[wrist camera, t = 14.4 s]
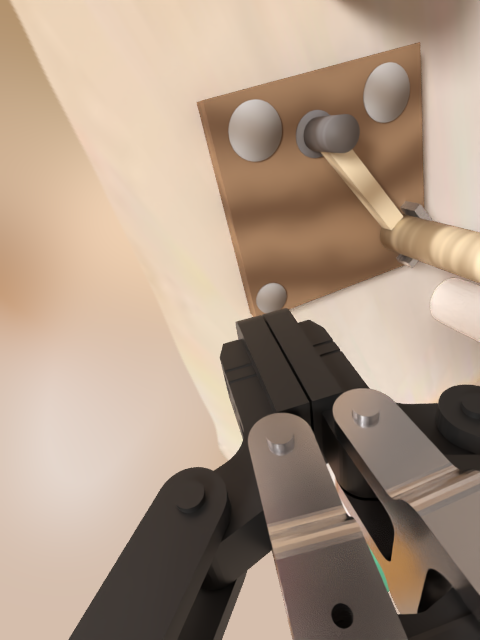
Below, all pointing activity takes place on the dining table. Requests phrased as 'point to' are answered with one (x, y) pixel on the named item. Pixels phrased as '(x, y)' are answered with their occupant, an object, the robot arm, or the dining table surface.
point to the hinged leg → (397, 229)
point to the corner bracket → (414, 211)
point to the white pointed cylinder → (458, 306)
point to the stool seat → (314, 175)
